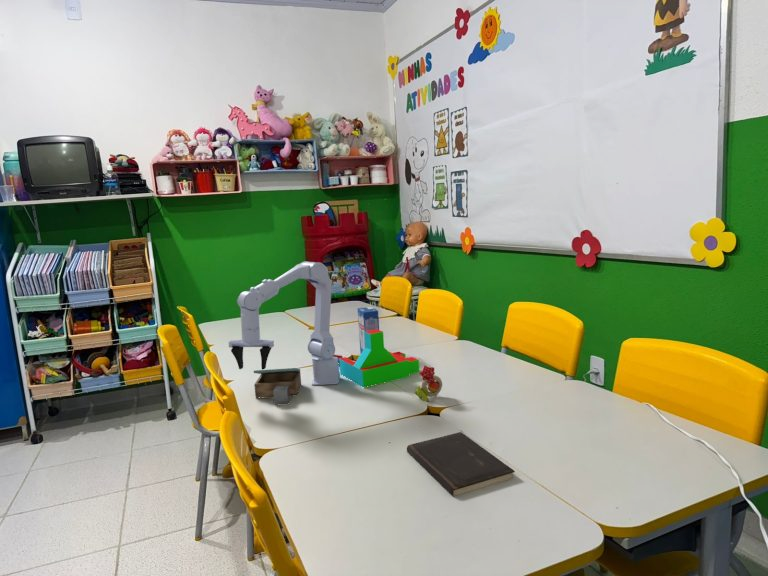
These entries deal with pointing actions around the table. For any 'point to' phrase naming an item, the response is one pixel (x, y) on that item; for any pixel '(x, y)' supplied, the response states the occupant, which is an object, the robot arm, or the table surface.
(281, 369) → the lid
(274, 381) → the toy box
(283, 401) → the metal weight
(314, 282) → the robot arm
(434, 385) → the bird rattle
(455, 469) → the hardcover book
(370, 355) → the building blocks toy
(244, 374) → the table surface
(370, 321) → the milk carton
